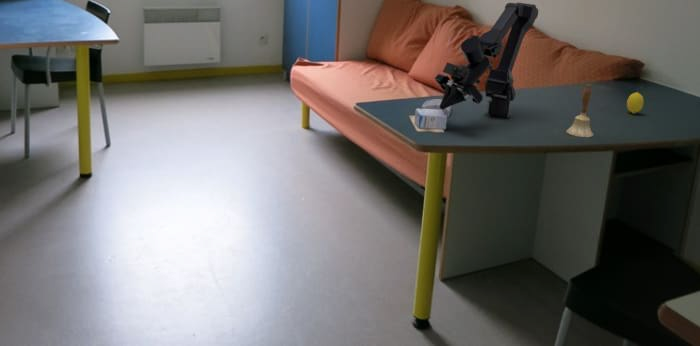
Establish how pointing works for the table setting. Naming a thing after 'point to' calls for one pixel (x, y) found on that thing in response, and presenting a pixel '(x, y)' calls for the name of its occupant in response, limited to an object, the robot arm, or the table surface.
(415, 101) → the table surface
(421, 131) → the cork pad
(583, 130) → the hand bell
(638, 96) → the lemon
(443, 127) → the medicine box
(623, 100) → the table surface
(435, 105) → the stone block
